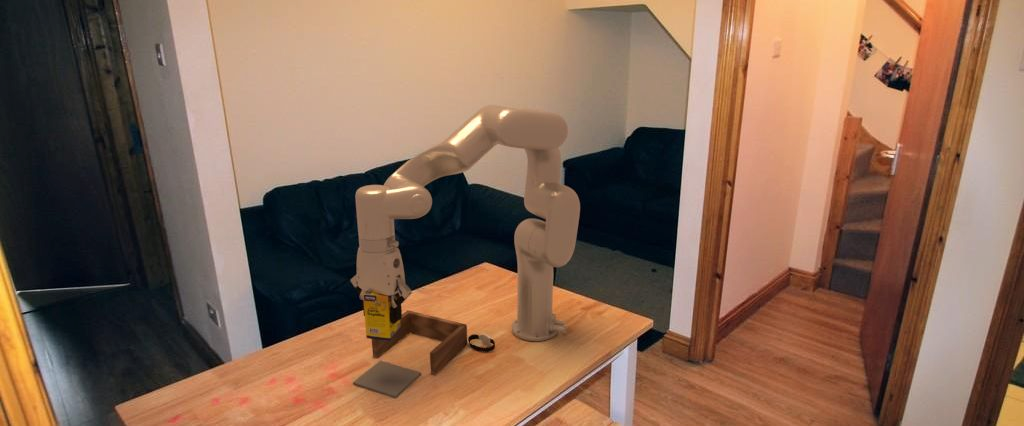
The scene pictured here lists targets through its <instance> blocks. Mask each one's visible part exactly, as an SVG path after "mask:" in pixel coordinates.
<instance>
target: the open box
mask: <svg viewBox="0 0 1024 426" xmlns="http://www.w3.org/2000/svg"><path fill="white" fill-rule="evenodd" d="M400 326H401V329H400V330H399V331H398V332H397V333H396V334H395V335H394V337H393V338H392V340H391V341H386V340H377V339H371V345H372V346H371V348H372V358H374V359H378V358H380V357H381V356H382V355H384V354H385V353H386V352H387V351H389V350H390V349H392V348H393V347H394V346H395V345H397V344H398V343H399V342H400V341H401V340H402V339H404V338H405V337H407V336H408V335H409V334H412V335H417V336H422V337H425V338H428V339H432V340H436V341H440V343H439V344H437V346H435V347H434V348H433V349H432V350H431V351H429V361H430V362H429V365H430V376H431V375H432V376H434V377H436V376H437V375H438V374H439V373H440V372H441V371H442V370H443V369H444V368H445V367H446V366H447V365H448V364H450V362H451V361H452V360H453V359H454V358H456V356H458V355H459V354H460V353H461V352H462V350H463V351H464V349H465V348H466V347H467V346H468V329H467V328H468V326H467V324H465V323H461V322H456V321H454V320H449V319H445V318H441V317H436V316H433V315H429V314H425V313H420V312H417V311H412V310H406V311H405V312H403V313H402V318H401V319H400Z"/></svg>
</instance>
